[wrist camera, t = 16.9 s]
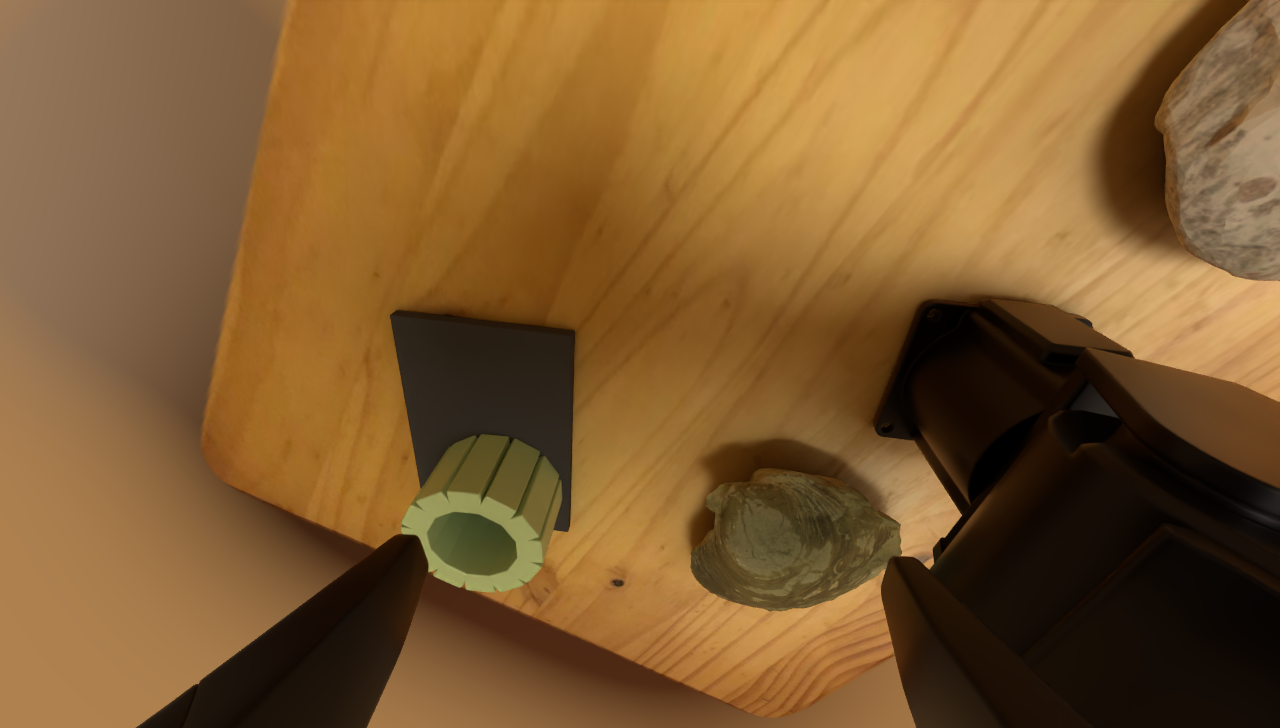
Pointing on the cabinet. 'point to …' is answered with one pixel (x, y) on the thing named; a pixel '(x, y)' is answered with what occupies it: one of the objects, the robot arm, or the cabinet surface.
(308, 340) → the cabinet surface
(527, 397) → the pad
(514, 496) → the ring
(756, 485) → the seashell
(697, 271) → the cabinet surface
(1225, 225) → the decorative stone
